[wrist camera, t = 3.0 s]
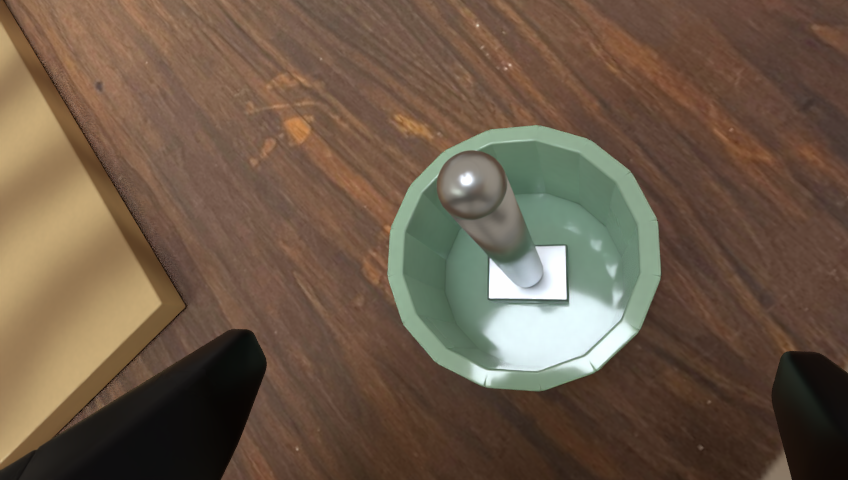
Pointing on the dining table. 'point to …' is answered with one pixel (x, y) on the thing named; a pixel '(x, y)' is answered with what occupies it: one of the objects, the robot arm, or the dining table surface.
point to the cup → (548, 225)
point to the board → (62, 261)
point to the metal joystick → (502, 232)
